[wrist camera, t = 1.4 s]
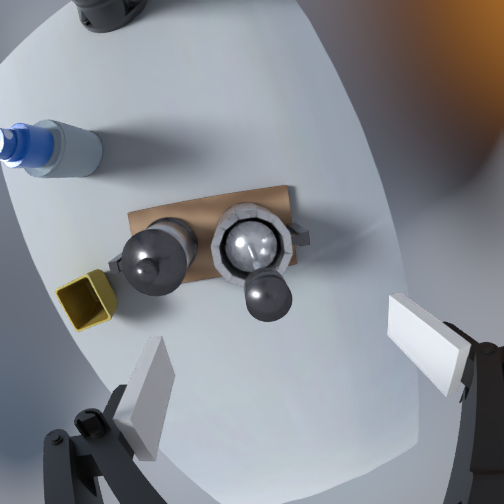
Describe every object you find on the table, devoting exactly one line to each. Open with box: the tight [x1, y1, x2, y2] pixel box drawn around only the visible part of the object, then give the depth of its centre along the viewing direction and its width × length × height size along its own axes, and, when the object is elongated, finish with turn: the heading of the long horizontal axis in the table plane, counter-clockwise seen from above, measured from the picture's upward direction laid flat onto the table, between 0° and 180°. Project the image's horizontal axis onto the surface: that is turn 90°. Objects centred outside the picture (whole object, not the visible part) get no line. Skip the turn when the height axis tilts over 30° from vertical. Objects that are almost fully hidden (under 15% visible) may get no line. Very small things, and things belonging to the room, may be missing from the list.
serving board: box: [128, 185, 297, 283], centre depth 50 cm, size 14×28×2 cm, turn 99°
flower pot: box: [55, 269, 117, 332], centre depth 47 cm, size 9×9×9 cm
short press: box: [108, 217, 198, 296], centre depth 41 cm, size 10×13×16 cm
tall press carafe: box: [211, 202, 310, 288], centre depth 43 cm, size 10×13×13 cm
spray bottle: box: [0, 120, 103, 178], centre depth 33 cm, size 9×9×25 cm
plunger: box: [226, 221, 292, 322], centre depth 30 cm, size 7×7×19 cm
